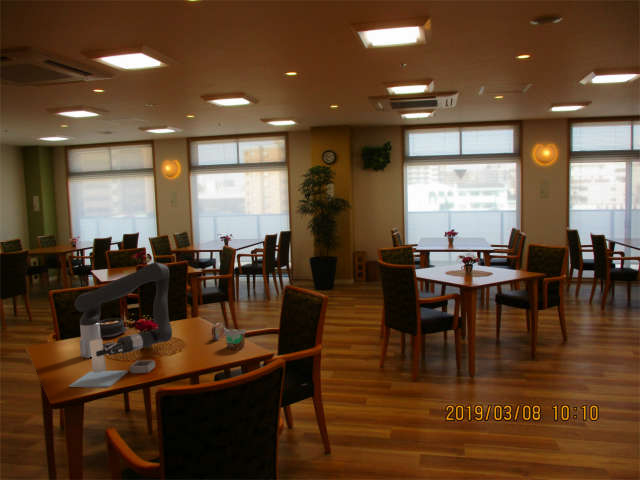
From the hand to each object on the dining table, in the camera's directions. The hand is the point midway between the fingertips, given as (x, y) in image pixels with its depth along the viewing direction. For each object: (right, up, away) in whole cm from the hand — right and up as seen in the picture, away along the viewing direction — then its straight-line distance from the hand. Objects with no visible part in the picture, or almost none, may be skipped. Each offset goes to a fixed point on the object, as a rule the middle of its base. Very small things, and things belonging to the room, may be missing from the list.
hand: (94, 352), depth 222 cm
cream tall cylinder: (+2, -8, +2) cm, 9 cm away
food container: (+55, -7, +41) cm, 69 cm away
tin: (+43, -6, +62) cm, 76 cm away
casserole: (-26, -7, +79) cm, 83 cm away
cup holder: (+17, -11, +13) cm, 24 cm away
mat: (+1, -13, +2) cm, 13 cm away
